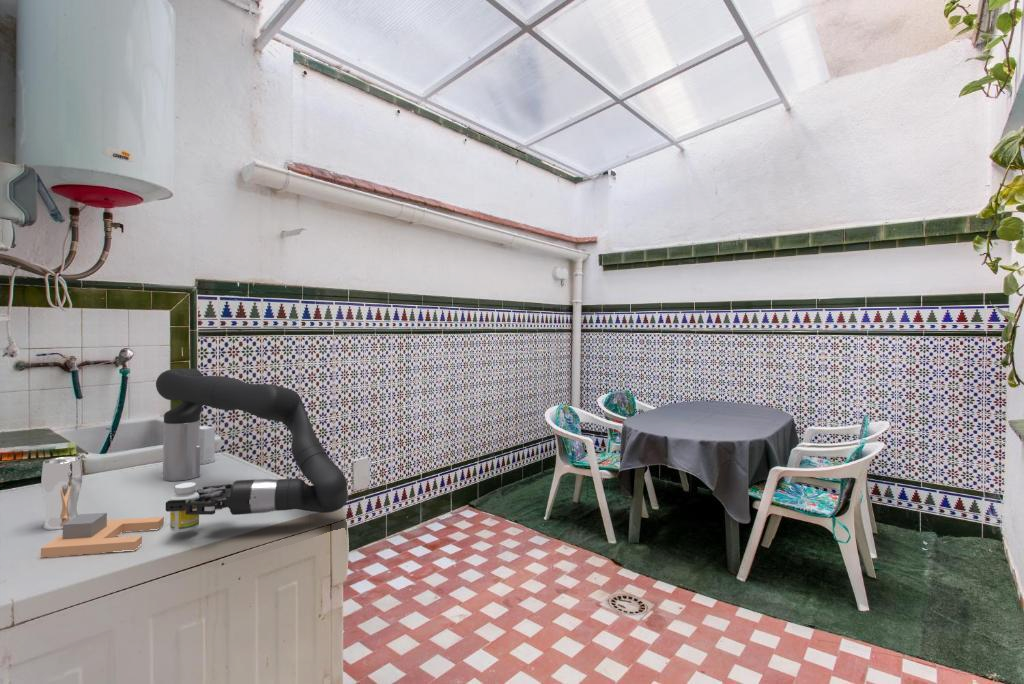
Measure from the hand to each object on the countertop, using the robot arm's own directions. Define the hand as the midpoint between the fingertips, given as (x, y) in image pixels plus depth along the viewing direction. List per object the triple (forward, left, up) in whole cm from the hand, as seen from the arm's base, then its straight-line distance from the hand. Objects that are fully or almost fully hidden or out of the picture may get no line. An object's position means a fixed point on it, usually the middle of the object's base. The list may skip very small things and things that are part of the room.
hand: (172, 501), depth 109 cm
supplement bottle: (-2, +1, -6) cm, 7 cm away
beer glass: (+19, -22, -8) cm, 30 cm away
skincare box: (-15, -65, -8) cm, 67 cm away
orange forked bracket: (+11, -5, -8) cm, 14 cm away
